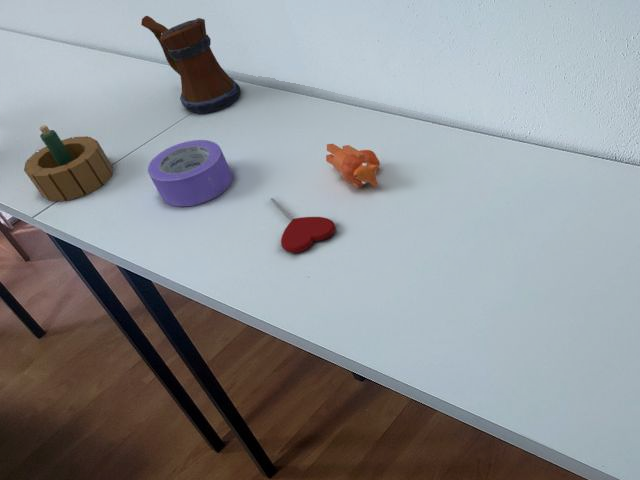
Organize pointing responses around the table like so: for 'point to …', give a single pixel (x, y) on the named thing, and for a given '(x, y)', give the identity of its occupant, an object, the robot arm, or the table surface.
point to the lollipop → (305, 231)
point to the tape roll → (190, 173)
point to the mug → (195, 65)
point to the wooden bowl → (70, 170)
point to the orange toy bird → (354, 164)
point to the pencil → (55, 146)
